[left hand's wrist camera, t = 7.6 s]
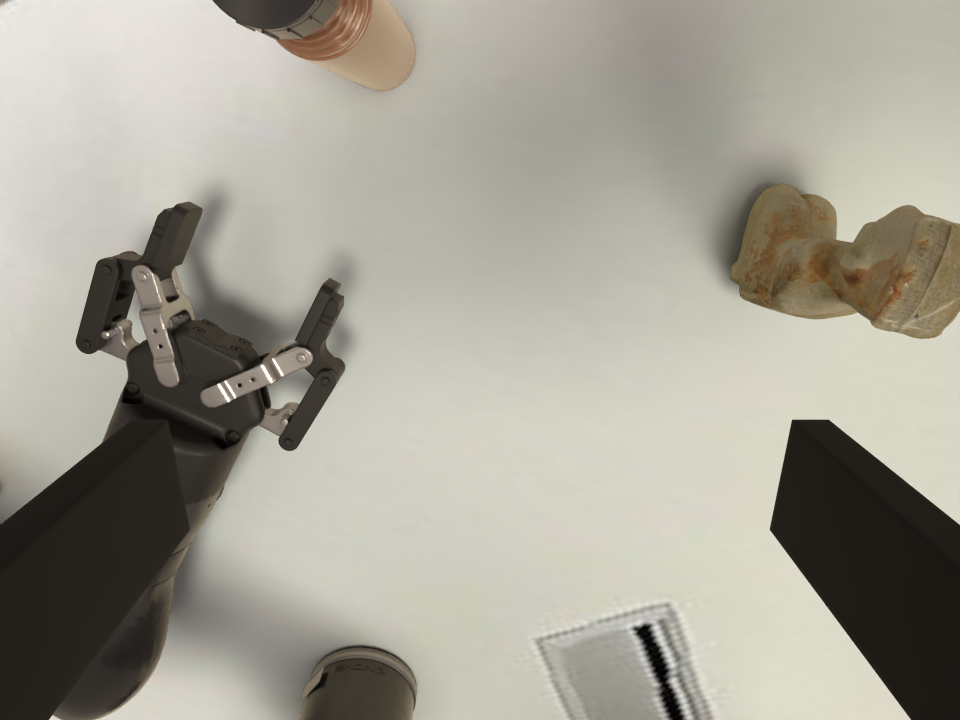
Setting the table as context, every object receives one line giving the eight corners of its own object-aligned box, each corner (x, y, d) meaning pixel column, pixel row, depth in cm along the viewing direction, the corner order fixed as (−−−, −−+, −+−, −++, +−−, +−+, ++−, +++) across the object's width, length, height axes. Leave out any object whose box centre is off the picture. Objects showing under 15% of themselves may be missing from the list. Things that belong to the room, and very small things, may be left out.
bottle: (348, 92, 36) (205, 42, 17) (339, 12, 34) (174, -134, 16) (417, 89, 36) (348, 35, 17) (412, 8, 34) (329, -142, 16)
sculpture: (834, 203, 38) (1044, 241, 24) (780, 307, 40) (940, 398, 26) (752, 173, 37) (916, 193, 23) (701, 281, 39) (821, 359, 25)
